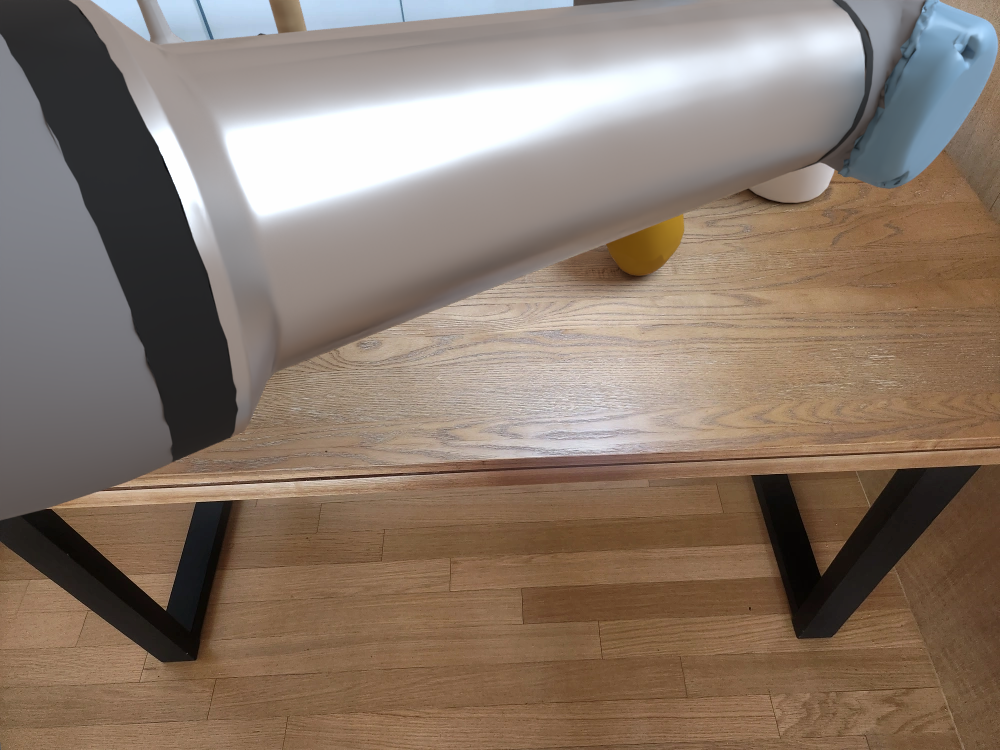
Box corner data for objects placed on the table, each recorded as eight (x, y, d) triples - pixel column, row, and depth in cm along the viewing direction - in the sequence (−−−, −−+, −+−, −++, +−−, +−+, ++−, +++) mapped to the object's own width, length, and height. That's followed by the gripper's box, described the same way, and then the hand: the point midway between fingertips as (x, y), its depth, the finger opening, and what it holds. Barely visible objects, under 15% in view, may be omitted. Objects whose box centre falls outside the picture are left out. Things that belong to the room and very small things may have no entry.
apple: (662, 236, 90) (677, 160, 81) (686, 285, 84) (705, 208, 75) (592, 246, 89) (599, 170, 80) (611, 295, 83) (620, 219, 74)
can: (792, 217, 91) (846, 75, 76) (720, 177, 98) (755, 38, 82) (845, 180, 96) (905, 39, 80) (772, 145, 102) (815, 8, 87)
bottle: (183, 152, 107) (94, -41, 86) (219, 136, 110) (143, -55, 88) (201, 169, 104) (114, -27, 82) (239, 151, 107) (164, -42, 85)
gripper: (449, 219, 48) (205, 144, 55) (540, 115, 56) (317, 62, 63) (438, 122, 42) (166, 53, 49) (541, 22, 50) (295, -24, 57)
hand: (251, 58), depth 56 cm, fingers closed on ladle, 2 cm apart
